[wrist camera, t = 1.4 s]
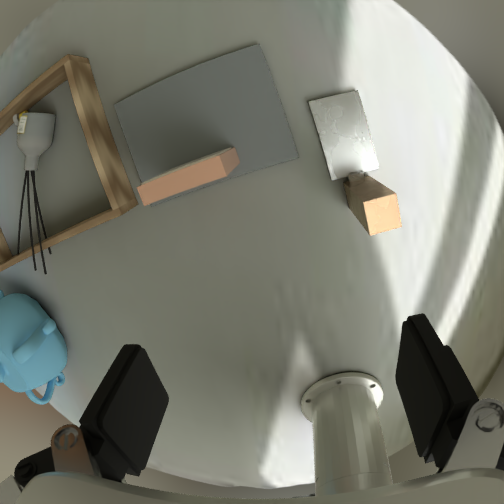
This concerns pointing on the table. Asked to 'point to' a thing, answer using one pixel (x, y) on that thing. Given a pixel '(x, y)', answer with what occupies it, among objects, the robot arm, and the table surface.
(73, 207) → the table surface
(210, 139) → the mat
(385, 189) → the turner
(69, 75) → the wooden frame
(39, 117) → the reed diffuser
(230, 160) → the tile
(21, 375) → the decorative pot
